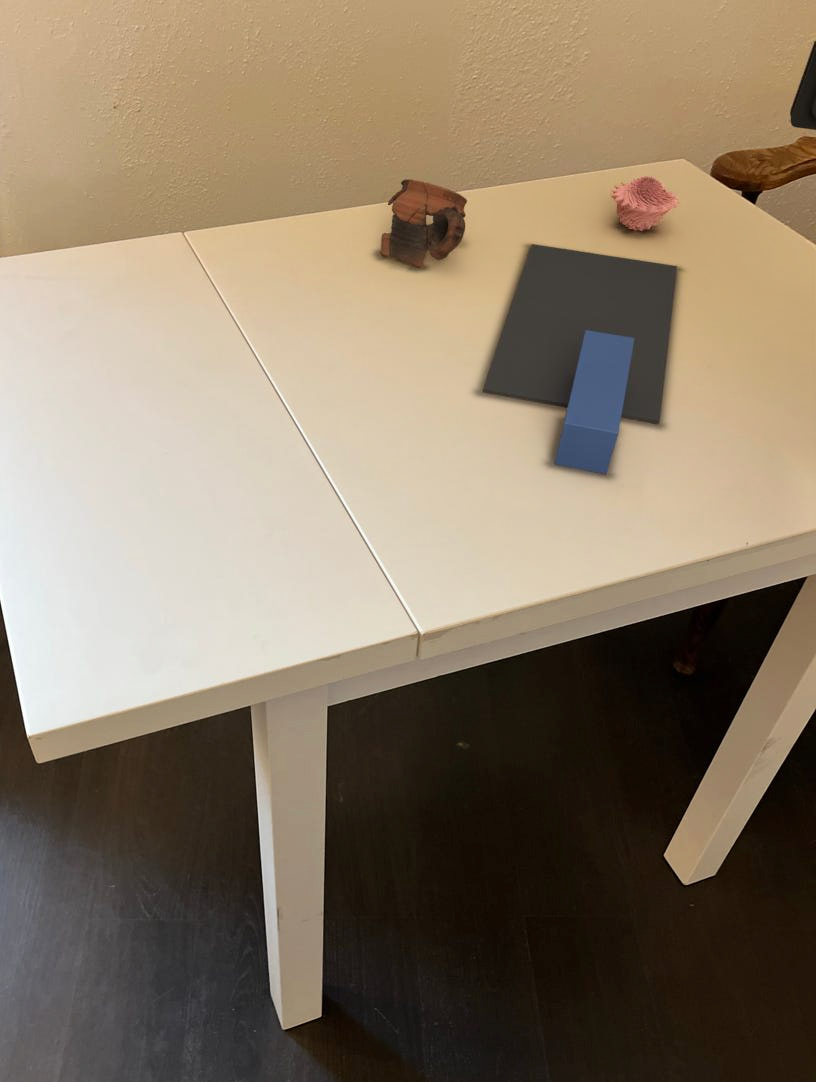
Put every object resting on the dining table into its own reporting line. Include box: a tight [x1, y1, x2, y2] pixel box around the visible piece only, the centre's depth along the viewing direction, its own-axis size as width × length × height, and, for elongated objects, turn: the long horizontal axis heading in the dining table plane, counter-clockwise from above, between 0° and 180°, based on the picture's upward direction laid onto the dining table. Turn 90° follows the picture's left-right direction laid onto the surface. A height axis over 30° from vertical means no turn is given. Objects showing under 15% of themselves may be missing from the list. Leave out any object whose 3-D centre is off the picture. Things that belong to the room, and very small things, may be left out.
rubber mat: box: [482, 243, 678, 425], centre depth 96 cm, size 16×30×1 cm, turn 164°
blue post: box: [554, 330, 634, 475], centre depth 83 cm, size 4×4×14 cm
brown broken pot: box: [380, 178, 468, 268], centre depth 104 cm, size 12×10×8 cm
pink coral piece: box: [609, 175, 681, 232], centre depth 109 cm, size 8×8×6 cm
